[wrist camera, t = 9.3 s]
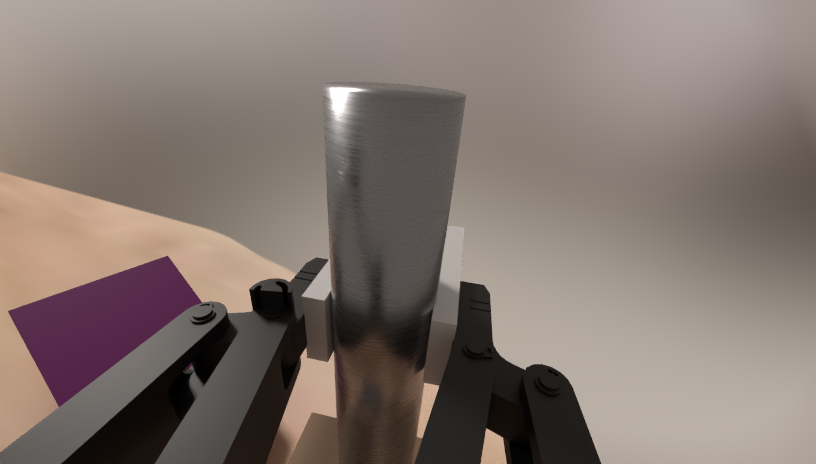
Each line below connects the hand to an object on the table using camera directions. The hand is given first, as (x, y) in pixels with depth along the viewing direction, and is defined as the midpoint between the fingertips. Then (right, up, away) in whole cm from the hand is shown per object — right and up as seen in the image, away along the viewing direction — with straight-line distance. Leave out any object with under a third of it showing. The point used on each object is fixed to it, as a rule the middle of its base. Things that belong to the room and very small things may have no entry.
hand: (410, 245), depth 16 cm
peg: (-2, -11, 0) cm, 11 cm away
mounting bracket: (-19, -14, +10) cm, 26 cm away
